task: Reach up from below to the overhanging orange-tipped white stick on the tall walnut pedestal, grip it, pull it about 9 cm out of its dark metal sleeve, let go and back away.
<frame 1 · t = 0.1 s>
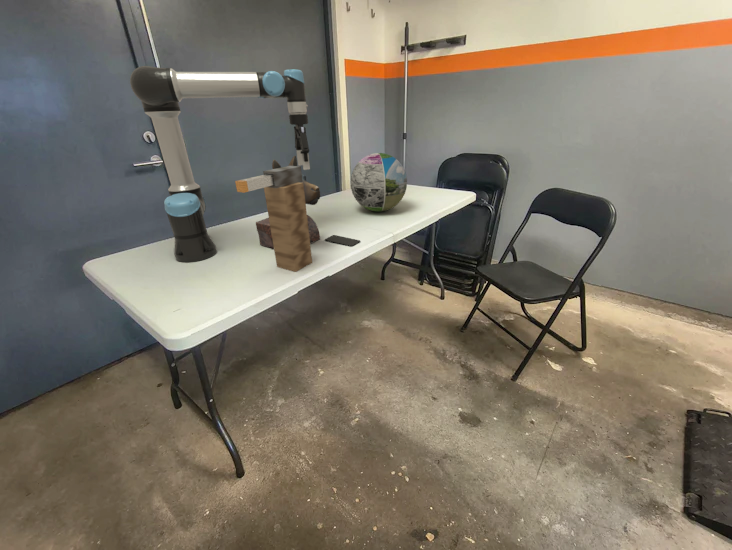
hand: (303, 167, 144), 28 cm above the table, tool pointing down, fingers open, 13 cm apart
smartphone: (342, 242, 140), on the table
photo panel ball: (379, 210, 181), on the table
pedestal: (294, 264, 120), on the table
dog bust: (298, 245, 138), on the table
orange-tipped white stick: (269, 179, 102), point 31 cm above the table, slide at 0.0 cm
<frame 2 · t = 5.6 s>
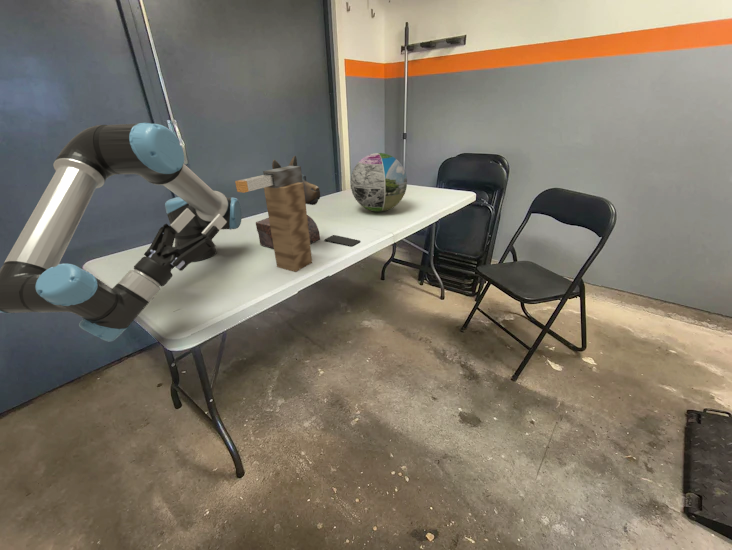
hand: (206, 214, 86), 26 cm above the table, tool pointing upward, fingers open, 13 cm apart
nothing on the table moved.
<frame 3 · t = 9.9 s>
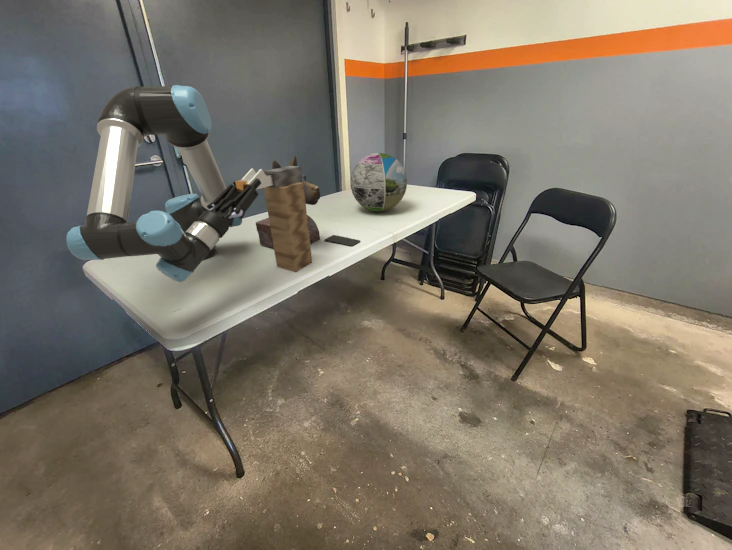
hand: (259, 172, 97), 34 cm above the table, tool pointing upward, fingers closed on orange-tipped white stick, 3 cm apart
orange-tipped white stick: (269, 179, 102), point 31 cm above the table, slide at 0.0 cm, touching gripper
everything else where it was.
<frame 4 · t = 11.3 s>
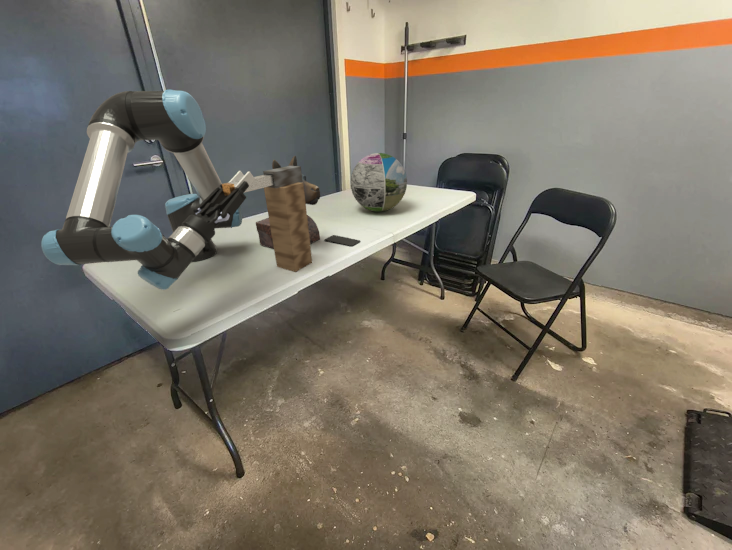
hand: (247, 175, 94), 34 cm above the table, tool pointing upward, fingers closed on orange-tipped white stick, 3 cm apart
orange-tipped white stick: (258, 182, 98), point 31 cm above the table, slide at 4.4 cm, touching gripper
everything else where it was.
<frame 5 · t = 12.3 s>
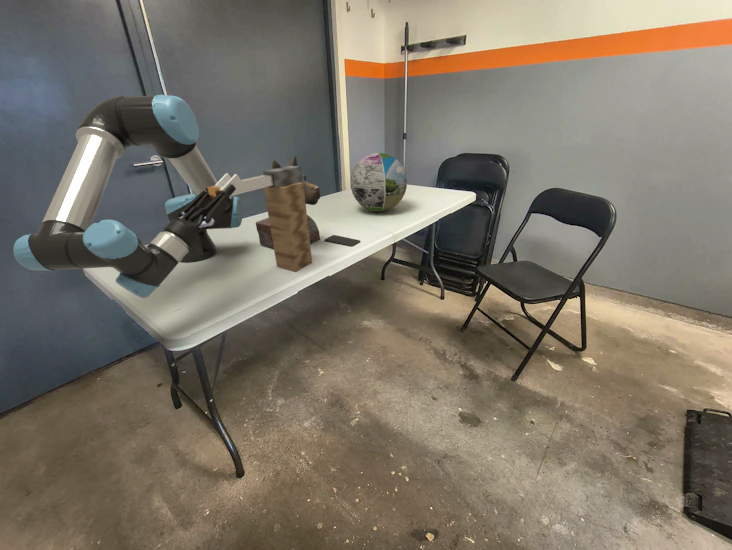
hand: (234, 177, 91), 34 cm above the table, tool pointing upward, fingers closed on orange-tipped white stick, 3 cm apart
orange-tipped white stick: (247, 185, 95), point 31 cm above the table, slide at 8.9 cm, touching gripper
everything else where it was.
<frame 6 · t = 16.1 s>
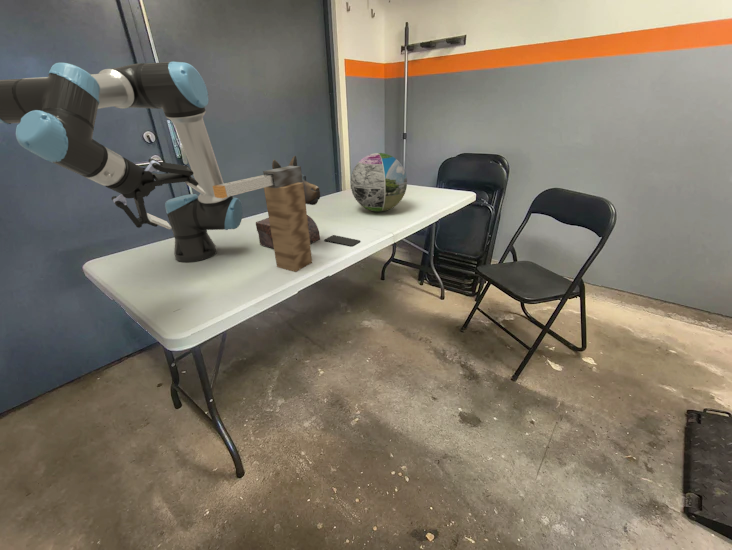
hand: (185, 208, 92), 27 cm above the table, tool tilted 55°, fingers open, 13 cm apart
orange-tipped white stick: (251, 184, 96), point 31 cm above the table, slide at 7.3 cm
everything else where it was.
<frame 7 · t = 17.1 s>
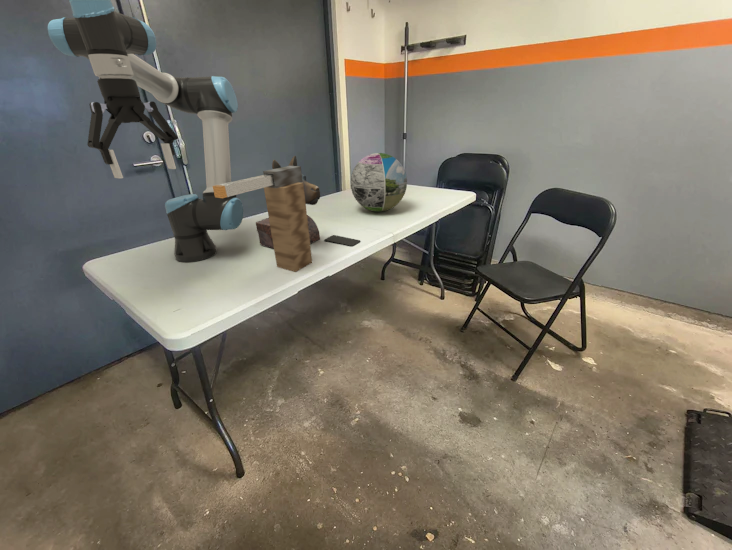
hand: (147, 173, 85), 37 cm above the table, tool pointing down, fingers open, 13 cm apart
nothing on the table moved.
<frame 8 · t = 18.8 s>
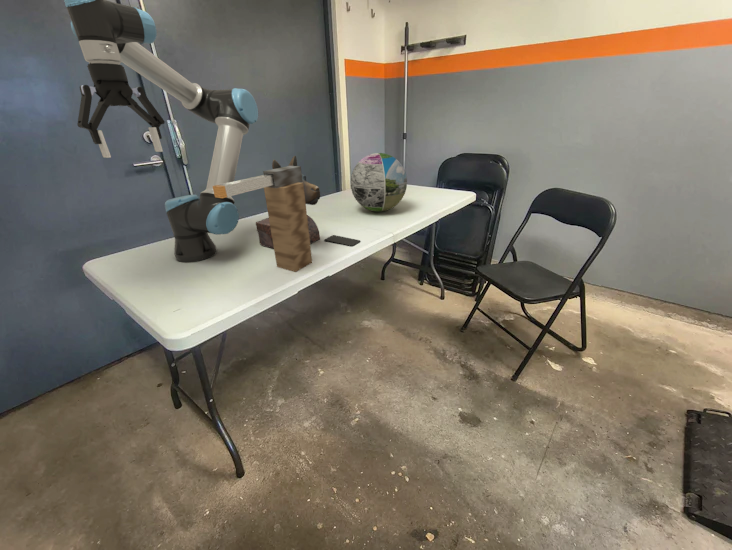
hand: (134, 154, 91), 41 cm above the table, tool pointing down, fingers open, 13 cm apart
nothing on the table moved.
at the end: orange-tipped white stick slide at 7.3 cm; the gripper is holding nothing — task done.
